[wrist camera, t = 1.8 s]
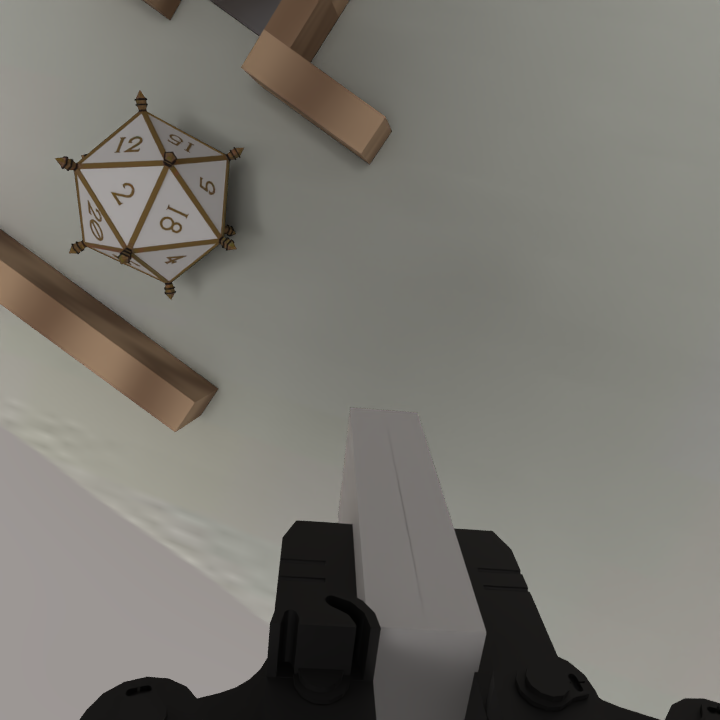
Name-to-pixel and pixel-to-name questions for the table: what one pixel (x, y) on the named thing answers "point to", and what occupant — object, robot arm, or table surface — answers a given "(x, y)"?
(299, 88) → the wooden blocks
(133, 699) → the robot arm
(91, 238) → the game die
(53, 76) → the table surface
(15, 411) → the table surface
